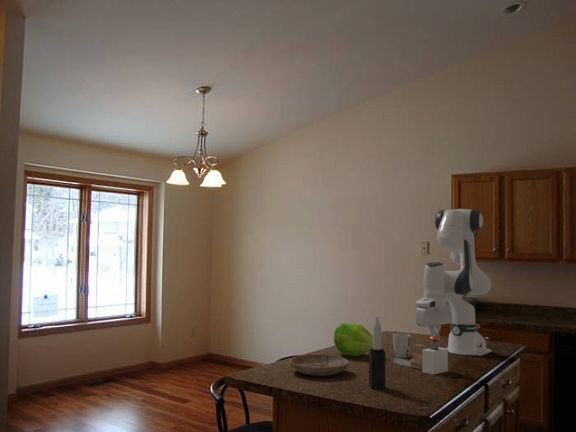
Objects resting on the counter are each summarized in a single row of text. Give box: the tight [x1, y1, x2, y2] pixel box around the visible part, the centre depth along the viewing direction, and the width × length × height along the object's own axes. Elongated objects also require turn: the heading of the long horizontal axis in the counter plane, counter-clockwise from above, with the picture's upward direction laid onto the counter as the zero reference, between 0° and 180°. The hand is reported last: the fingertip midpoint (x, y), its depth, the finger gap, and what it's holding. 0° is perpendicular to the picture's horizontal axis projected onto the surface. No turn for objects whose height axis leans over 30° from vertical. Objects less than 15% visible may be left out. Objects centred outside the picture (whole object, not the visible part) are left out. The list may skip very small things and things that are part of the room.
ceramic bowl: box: [289, 354, 350, 377], centre depth 206 cm, size 23×24×5 cm
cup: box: [392, 333, 411, 359], centre depth 240 cm, size 8×8×10 cm
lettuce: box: [333, 322, 373, 357], centre depth 241 cm, size 17×20×15 cm
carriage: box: [410, 343, 426, 370], centre depth 216 cm, size 5×5×9 cm
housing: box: [421, 346, 449, 375], centre depth 210 cm, size 10×5×9 cm, turn 128°
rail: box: [392, 357, 420, 370], centre depth 219 cm, size 2×18×2 cm, turn 38°
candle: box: [368, 316, 386, 390], centre depth 185 cm, size 5×5×25 cm
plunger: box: [429, 336, 441, 350], centre depth 211 cm, size 4×4×6 cm
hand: (434, 336), depth 211 cm, fingers closed
